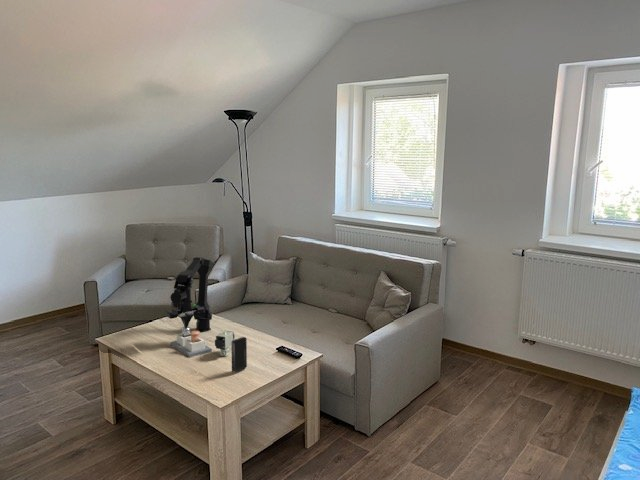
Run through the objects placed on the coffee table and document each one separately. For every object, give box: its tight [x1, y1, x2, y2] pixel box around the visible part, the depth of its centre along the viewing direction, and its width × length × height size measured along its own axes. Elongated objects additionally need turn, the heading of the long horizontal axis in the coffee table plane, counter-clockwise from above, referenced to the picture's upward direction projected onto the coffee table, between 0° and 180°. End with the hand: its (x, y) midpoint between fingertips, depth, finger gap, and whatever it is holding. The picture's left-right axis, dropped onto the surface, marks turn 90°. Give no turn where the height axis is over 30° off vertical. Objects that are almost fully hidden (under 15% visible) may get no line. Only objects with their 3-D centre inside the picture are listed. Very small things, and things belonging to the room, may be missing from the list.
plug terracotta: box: [190, 330, 201, 343], centre depth 247 cm, size 5×5×5 cm
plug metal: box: [181, 325, 191, 338], centre depth 255 cm, size 5×5×5 cm
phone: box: [230, 336, 248, 373], centre depth 225 cm, size 8×1×15 cm, turn 138°
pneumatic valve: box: [214, 330, 236, 358], centre depth 243 cm, size 6×12×12 cm, turn 161°
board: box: [169, 333, 213, 358], centre depth 252 cm, size 12×22×6 cm, turn 40°
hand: (185, 327), depth 254 cm, fingers closed, pressing on plug metal
